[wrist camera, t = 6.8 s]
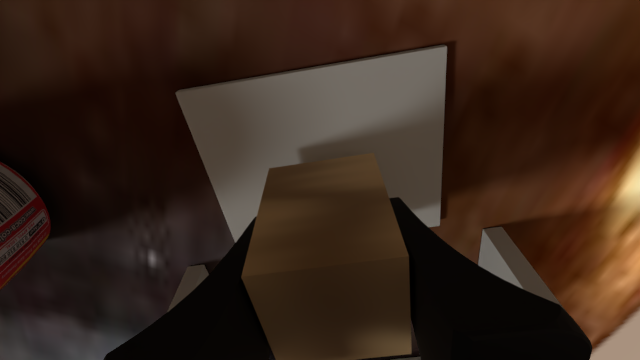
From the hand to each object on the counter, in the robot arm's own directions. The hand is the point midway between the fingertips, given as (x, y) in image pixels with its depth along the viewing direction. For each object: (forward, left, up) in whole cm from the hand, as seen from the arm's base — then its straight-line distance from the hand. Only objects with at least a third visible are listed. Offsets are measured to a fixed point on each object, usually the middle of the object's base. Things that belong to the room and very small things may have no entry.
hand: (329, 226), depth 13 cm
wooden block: (0, 0, -2) cm, 2 cm away
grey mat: (0, +1, -3) cm, 4 cm away
